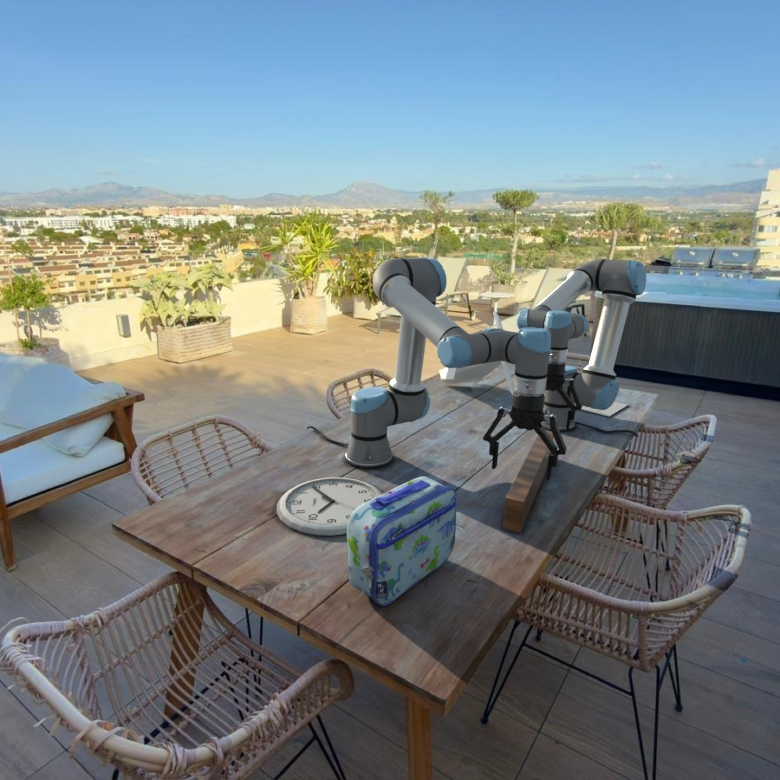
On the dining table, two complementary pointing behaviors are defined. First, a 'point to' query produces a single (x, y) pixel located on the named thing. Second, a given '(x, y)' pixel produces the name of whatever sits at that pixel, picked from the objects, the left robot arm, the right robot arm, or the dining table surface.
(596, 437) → the dining table surface
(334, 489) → the wall clock
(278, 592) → the dining table surface
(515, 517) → the board
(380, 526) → the lunch box
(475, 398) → the dining table surface
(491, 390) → the dining table surface
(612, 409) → the invitation card
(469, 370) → the white plastic object
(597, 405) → the right robot arm
